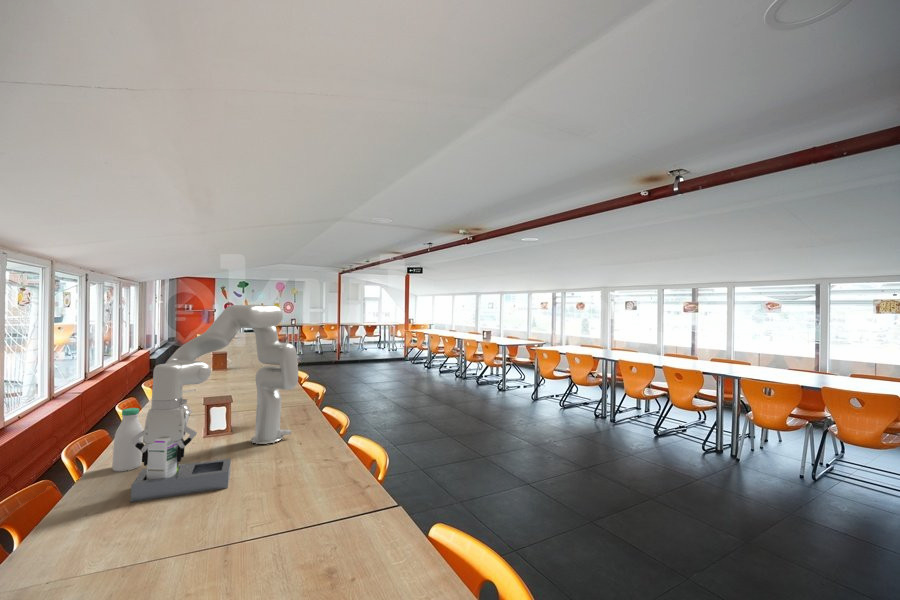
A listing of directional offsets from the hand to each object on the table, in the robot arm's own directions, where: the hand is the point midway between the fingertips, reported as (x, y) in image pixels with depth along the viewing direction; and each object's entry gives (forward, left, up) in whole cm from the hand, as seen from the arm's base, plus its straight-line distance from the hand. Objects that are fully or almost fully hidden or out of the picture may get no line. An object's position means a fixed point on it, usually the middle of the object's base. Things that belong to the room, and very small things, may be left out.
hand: (163, 461), depth 117 cm
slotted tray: (-6, 0, -8) cm, 10 cm away
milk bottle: (+14, -24, -9) cm, 29 cm away
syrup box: (0, 0, -7) cm, 7 cm away
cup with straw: (+4, -57, -9) cm, 58 cm away
